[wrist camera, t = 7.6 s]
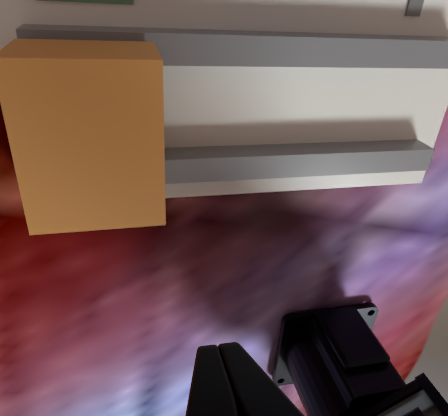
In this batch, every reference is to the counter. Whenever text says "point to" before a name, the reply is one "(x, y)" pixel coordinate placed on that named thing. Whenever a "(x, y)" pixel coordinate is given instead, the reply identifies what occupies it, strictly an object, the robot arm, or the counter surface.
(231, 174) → the console
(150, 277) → the counter surface
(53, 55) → the fader orange
